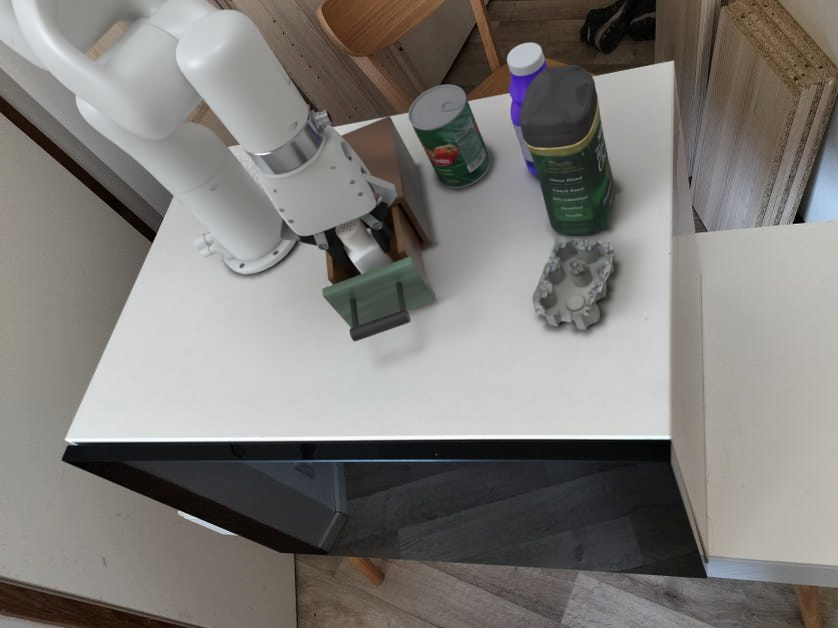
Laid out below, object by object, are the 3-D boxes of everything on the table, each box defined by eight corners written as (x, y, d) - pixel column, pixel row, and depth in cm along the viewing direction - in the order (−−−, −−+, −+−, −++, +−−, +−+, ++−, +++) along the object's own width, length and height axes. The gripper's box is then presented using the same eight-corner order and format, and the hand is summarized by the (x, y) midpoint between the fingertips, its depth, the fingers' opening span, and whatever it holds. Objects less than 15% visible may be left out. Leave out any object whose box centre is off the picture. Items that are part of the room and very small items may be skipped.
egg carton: (595, 335, 75) (588, 316, 72) (533, 324, 79) (524, 305, 75) (622, 258, 79) (617, 236, 76) (562, 250, 82) (555, 229, 79)
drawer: (443, 338, 81) (418, 302, 74) (356, 368, 82) (325, 335, 76) (420, 218, 92) (397, 177, 85) (345, 246, 93) (316, 209, 87)
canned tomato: (432, 190, 95) (400, 131, 86) (445, 148, 98) (416, 87, 89) (484, 187, 92) (457, 126, 83) (496, 145, 95) (472, 81, 86)
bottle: (587, 148, 90) (559, 33, 75) (578, 181, 87) (548, 69, 73) (535, 150, 92) (499, 39, 78) (525, 181, 90) (486, 74, 76)
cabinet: (432, 245, 90) (403, 196, 82) (346, 276, 92) (310, 231, 84) (417, 166, 98) (389, 115, 90) (338, 197, 100) (305, 149, 92)
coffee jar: (610, 239, 81) (582, 120, 66) (547, 239, 84) (506, 125, 69) (622, 178, 85) (598, 52, 70) (561, 180, 88) (525, 60, 73)
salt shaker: (363, 273, 87) (327, 225, 79) (389, 255, 87) (355, 206, 79) (375, 292, 84) (339, 245, 77) (402, 274, 85) (368, 225, 77)
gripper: (359, 84, 68) (427, 206, 83) (212, 146, 70) (303, 253, 85) (366, 132, 64) (436, 251, 79) (209, 196, 66) (305, 299, 81)
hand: (366, 251), depth 82 cm, fingers closed on salt shaker, 4 cm apart
